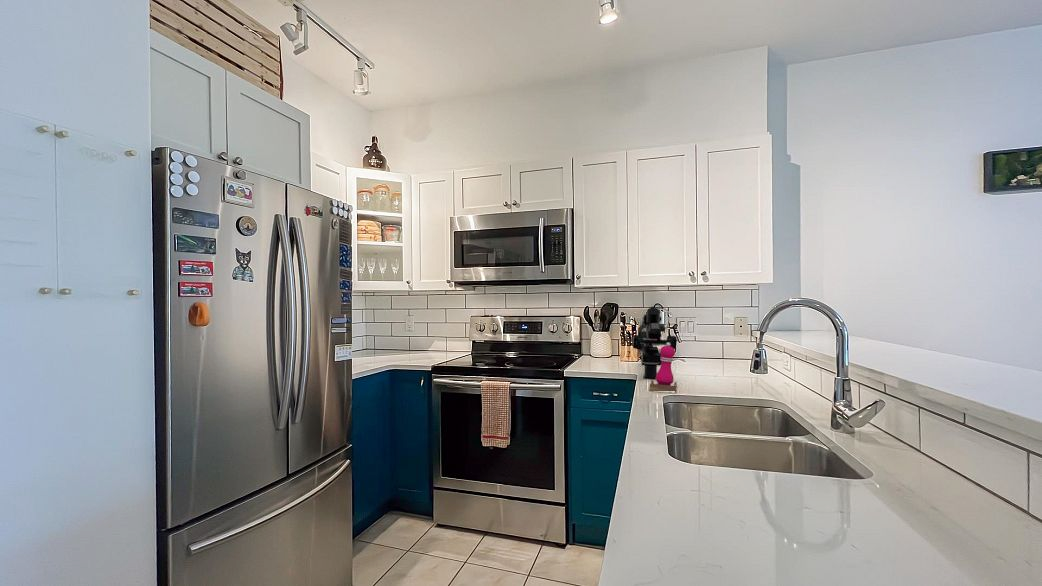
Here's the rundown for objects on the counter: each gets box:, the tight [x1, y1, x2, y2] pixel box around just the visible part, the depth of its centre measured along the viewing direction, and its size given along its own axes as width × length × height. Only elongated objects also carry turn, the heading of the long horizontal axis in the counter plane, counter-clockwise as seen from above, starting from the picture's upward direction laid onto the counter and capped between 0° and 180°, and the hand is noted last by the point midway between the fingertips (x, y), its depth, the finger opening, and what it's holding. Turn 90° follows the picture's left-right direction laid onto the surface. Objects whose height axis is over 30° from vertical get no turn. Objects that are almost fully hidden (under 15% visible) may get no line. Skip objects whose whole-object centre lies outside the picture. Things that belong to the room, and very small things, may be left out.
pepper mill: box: [655, 342, 676, 386], centre depth 185 cm, size 7×7×20 cm
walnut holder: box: [649, 379, 678, 392], centre depth 185 cm, size 9×10×3 cm
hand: (656, 354), depth 190 cm, fingers open, 9 cm apart
